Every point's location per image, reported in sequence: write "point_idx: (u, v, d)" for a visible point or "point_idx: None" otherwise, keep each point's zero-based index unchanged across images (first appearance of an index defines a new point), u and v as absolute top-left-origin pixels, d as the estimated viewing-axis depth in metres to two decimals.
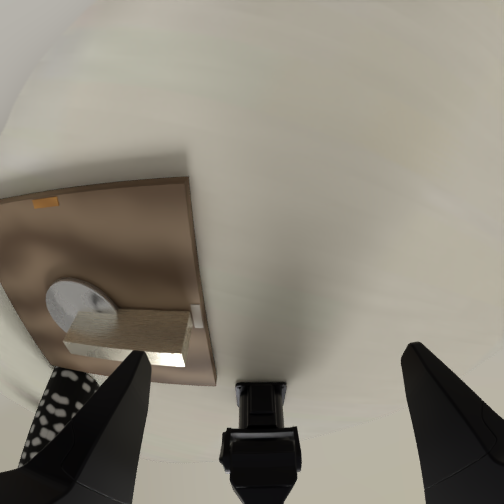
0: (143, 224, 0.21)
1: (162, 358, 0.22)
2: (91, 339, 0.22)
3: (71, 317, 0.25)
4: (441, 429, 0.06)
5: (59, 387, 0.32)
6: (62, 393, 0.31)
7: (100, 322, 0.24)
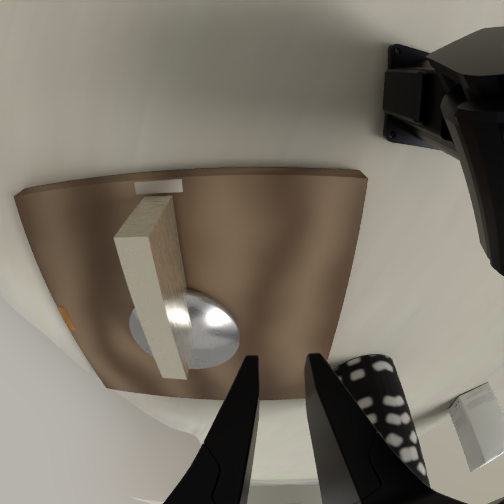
0: (52, 235, 0.18)
1: (136, 268, 0.14)
2: None
3: None
4: (327, 456, 0.06)
5: None
6: None
7: None
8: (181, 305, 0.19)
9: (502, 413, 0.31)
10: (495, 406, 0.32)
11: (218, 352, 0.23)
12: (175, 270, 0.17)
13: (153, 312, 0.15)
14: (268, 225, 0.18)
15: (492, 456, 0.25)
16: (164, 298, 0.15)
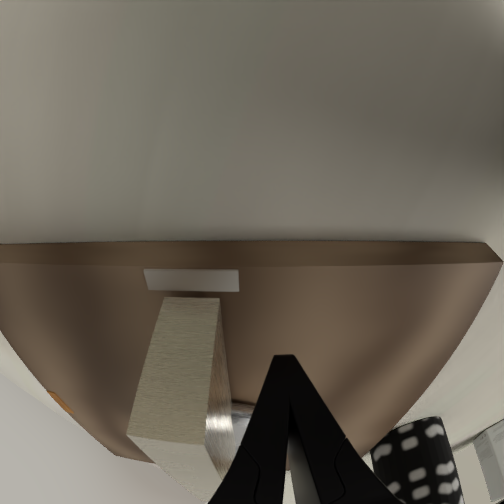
0: (22, 321, 0.11)
1: (175, 460, 0.06)
2: None
3: None
4: (296, 459, 0.06)
5: (380, 477, 0.19)
6: (386, 481, 0.18)
7: None
8: (229, 436, 0.11)
9: None
10: None
11: None
12: (225, 407, 0.10)
13: (201, 481, 0.08)
14: (369, 332, 0.11)
15: None
16: (221, 473, 0.07)
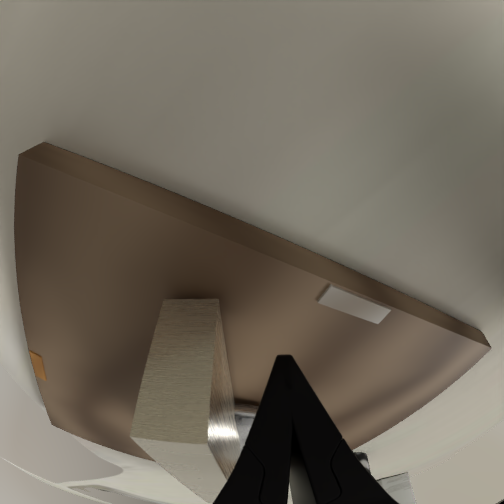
0: (77, 273, 0.09)
1: (180, 461, 0.06)
2: None
3: None
4: (293, 459, 0.06)
5: None
6: None
7: None
8: (233, 437, 0.11)
9: (414, 501, 0.35)
10: (410, 494, 0.36)
11: None
12: (228, 408, 0.10)
13: (206, 483, 0.08)
14: (409, 372, 0.13)
15: None
16: (226, 474, 0.07)
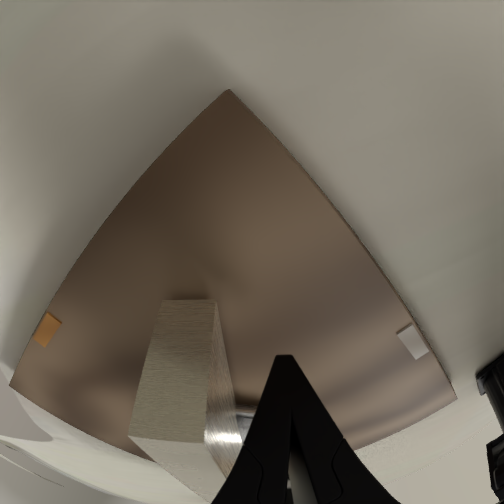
0: (211, 254, 0.09)
1: (179, 461, 0.06)
2: None
3: None
4: (294, 459, 0.06)
5: None
6: None
7: None
8: (235, 437, 0.11)
9: None
10: None
11: None
12: (228, 408, 0.10)
13: (207, 483, 0.08)
14: (403, 403, 0.15)
15: None
16: (225, 474, 0.08)
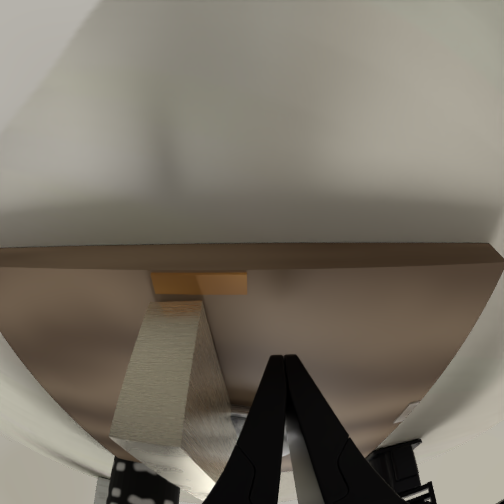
0: (426, 323, 0.11)
1: (163, 463, 0.06)
2: None
3: None
4: (299, 458, 0.06)
5: (136, 486, 0.21)
6: (143, 494, 0.20)
7: None
8: (229, 438, 0.11)
9: None
10: None
11: None
12: (219, 410, 0.10)
13: (196, 484, 0.08)
14: None
15: None
16: (214, 476, 0.07)
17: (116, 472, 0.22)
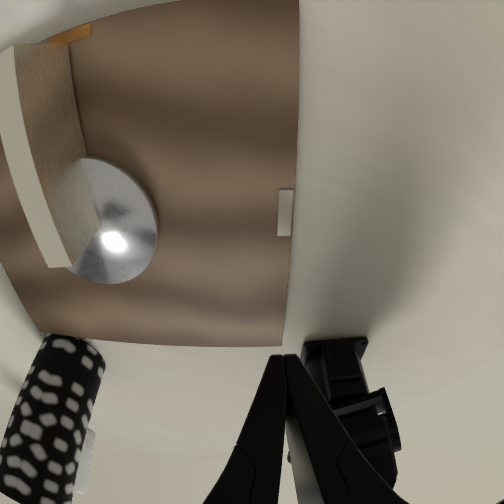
0: (227, 47, 0.12)
1: (2, 86, 0.07)
2: None
3: (98, 247, 0.17)
4: (299, 458, 0.06)
5: (49, 361, 0.23)
6: (53, 370, 0.22)
7: None
8: (68, 161, 0.13)
9: (88, 464, 0.40)
10: (88, 455, 0.41)
11: (134, 249, 0.17)
12: (60, 113, 0.11)
13: (17, 145, 0.09)
14: (241, 296, 0.21)
15: None
16: (26, 121, 0.09)
17: (38, 352, 0.24)
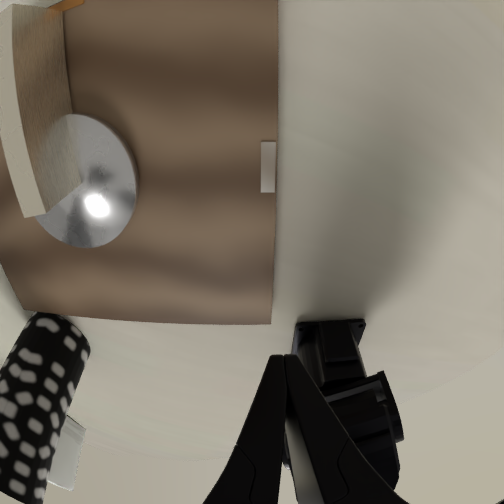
0: (209, 6, 0.11)
1: None
2: None
3: (78, 206, 0.16)
4: (299, 458, 0.06)
5: (31, 340, 0.21)
6: (34, 348, 0.21)
7: None
8: (53, 113, 0.12)
9: (77, 460, 0.38)
10: (77, 450, 0.39)
11: (113, 207, 0.16)
12: (49, 69, 0.10)
13: (5, 91, 0.08)
14: (224, 263, 0.20)
15: (53, 481, 0.29)
16: (16, 69, 0.08)
17: (21, 332, 0.23)
